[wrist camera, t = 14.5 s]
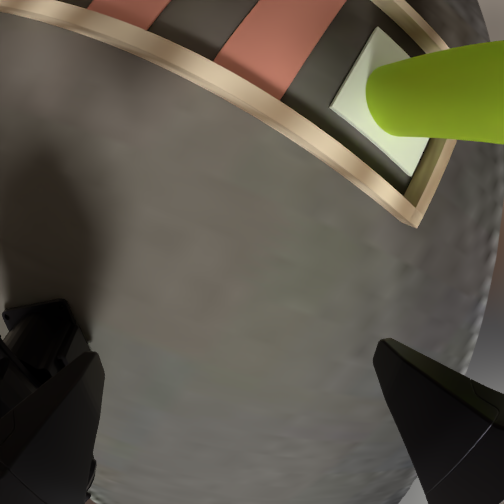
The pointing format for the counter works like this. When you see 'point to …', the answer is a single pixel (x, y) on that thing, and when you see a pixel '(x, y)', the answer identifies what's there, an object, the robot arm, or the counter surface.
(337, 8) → the mats
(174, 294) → the counter surface
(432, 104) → the soap dispenser
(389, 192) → the frame
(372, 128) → the pad
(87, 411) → the robot arm
